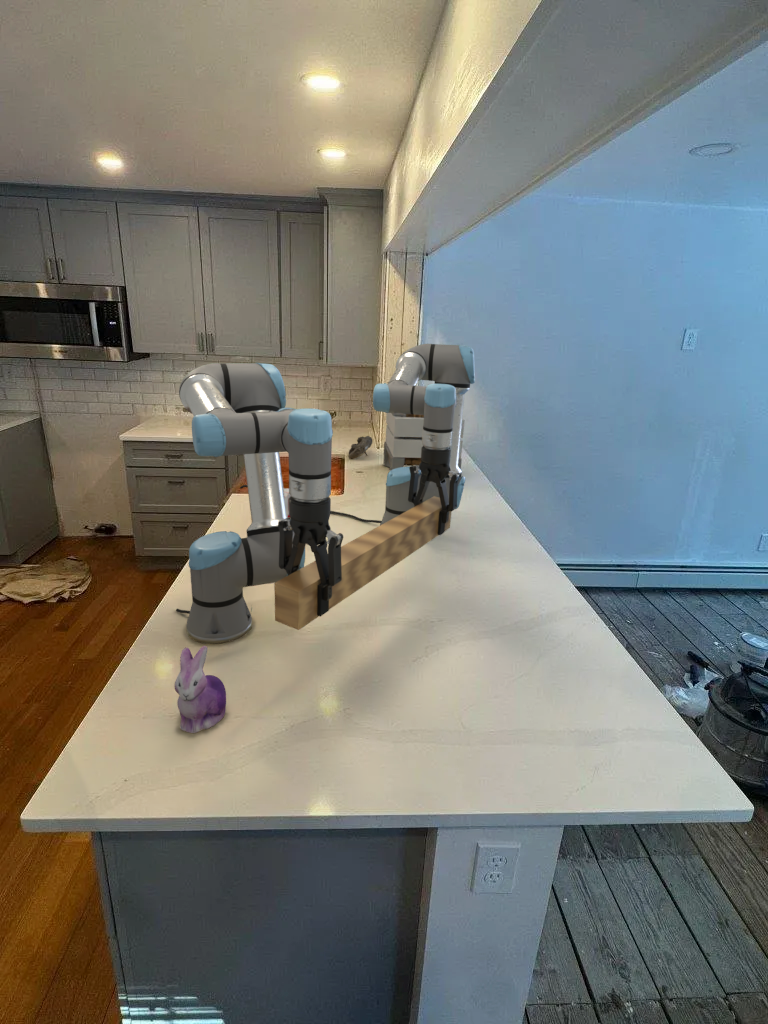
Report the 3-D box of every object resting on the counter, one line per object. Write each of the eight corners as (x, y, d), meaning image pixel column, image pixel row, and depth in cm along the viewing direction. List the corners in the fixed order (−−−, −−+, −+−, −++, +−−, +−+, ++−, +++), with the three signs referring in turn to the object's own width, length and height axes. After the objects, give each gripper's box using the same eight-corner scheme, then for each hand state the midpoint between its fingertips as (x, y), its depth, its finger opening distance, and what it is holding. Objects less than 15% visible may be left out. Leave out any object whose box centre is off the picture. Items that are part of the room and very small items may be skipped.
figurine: (181, 742, 101) (174, 672, 96) (173, 708, 110) (166, 641, 105) (234, 727, 105) (230, 658, 100) (222, 695, 114) (218, 630, 109)
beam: (431, 523, 159) (433, 496, 156) (450, 527, 156) (452, 500, 154) (274, 620, 107) (274, 582, 104) (298, 630, 104) (298, 591, 101)
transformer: (382, 463, 289) (386, 382, 275) (445, 464, 293) (451, 384, 279) (390, 482, 257) (394, 392, 243) (460, 483, 261) (468, 394, 247)
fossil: (348, 442, 312) (369, 426, 307) (359, 455, 315) (380, 440, 310) (341, 456, 292) (364, 439, 287) (353, 470, 295) (376, 454, 290)
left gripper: (256, 490, 104) (259, 601, 112) (340, 513, 95) (338, 632, 103) (283, 481, 110) (284, 586, 118) (364, 501, 101) (360, 614, 109)
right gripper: (397, 443, 145) (392, 527, 154) (464, 455, 137) (456, 543, 145) (410, 438, 152) (405, 518, 160) (476, 449, 143) (467, 534, 151)
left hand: (309, 607), depth 111 cm, fingers closed on beam, 6 cm apart
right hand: (429, 530), depth 152 cm, fingers closed on beam, 6 cm apart
